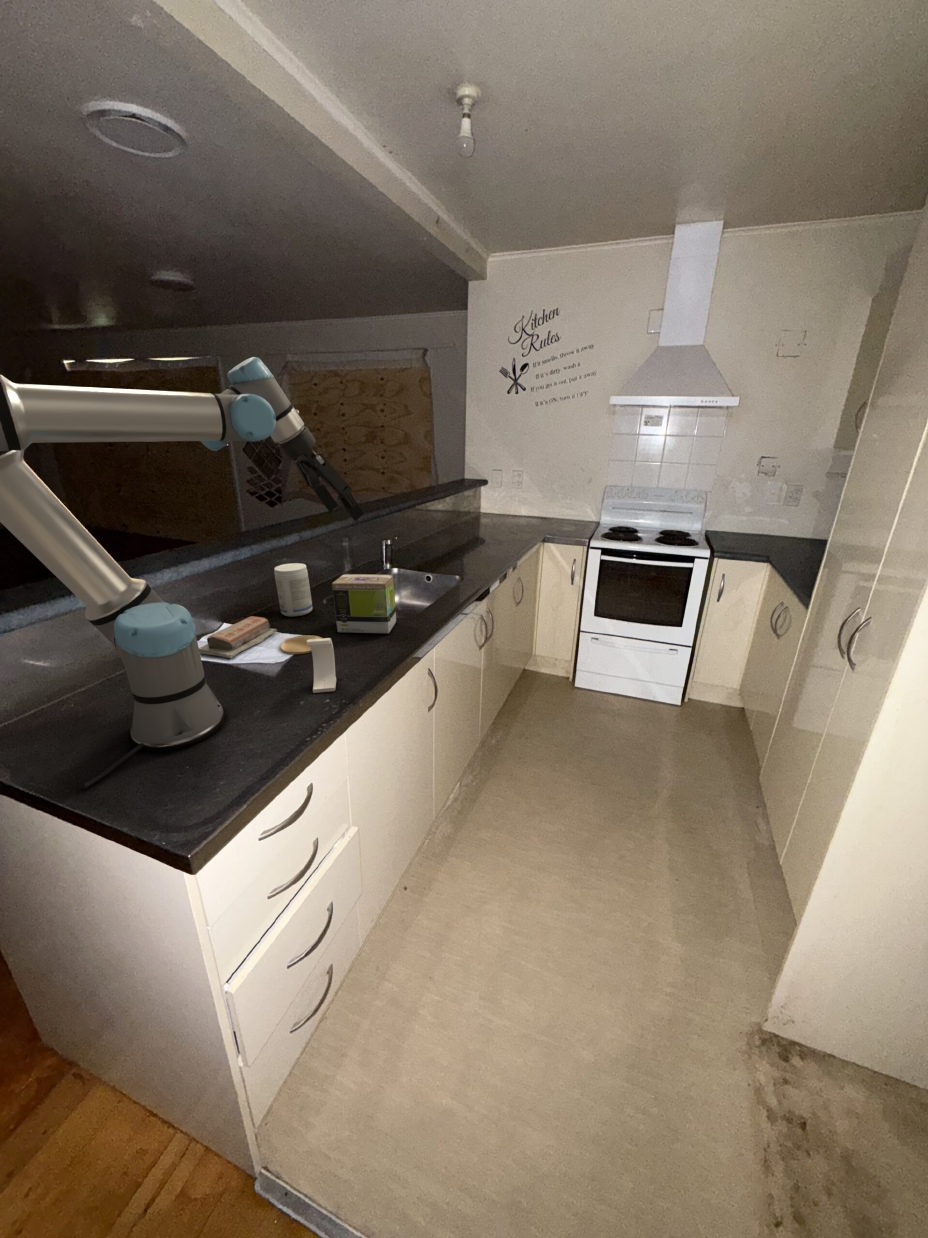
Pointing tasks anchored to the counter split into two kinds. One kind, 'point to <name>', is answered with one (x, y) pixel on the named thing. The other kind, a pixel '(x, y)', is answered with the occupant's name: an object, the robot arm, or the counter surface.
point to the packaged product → (237, 637)
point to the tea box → (364, 603)
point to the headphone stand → (323, 664)
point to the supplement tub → (293, 589)
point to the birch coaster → (298, 644)
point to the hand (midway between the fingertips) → (346, 512)
